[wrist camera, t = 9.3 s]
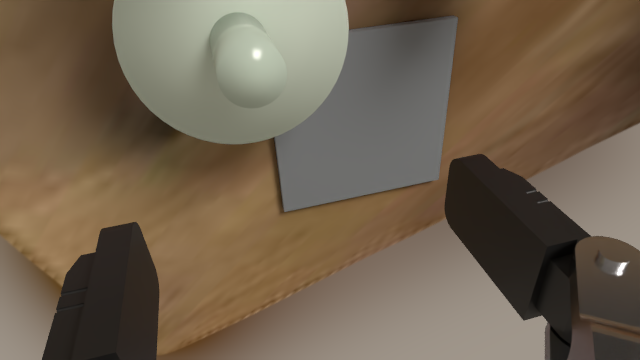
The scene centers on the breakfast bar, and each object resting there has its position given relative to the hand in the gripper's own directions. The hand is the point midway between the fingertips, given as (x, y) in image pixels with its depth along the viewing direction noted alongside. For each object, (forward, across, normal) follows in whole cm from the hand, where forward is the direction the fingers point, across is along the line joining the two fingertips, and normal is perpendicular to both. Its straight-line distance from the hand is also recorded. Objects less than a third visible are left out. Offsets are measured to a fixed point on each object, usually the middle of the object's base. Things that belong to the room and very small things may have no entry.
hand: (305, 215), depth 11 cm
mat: (+21, -9, +9) cm, 24 cm away
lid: (+16, 0, 0) cm, 16 cm away
